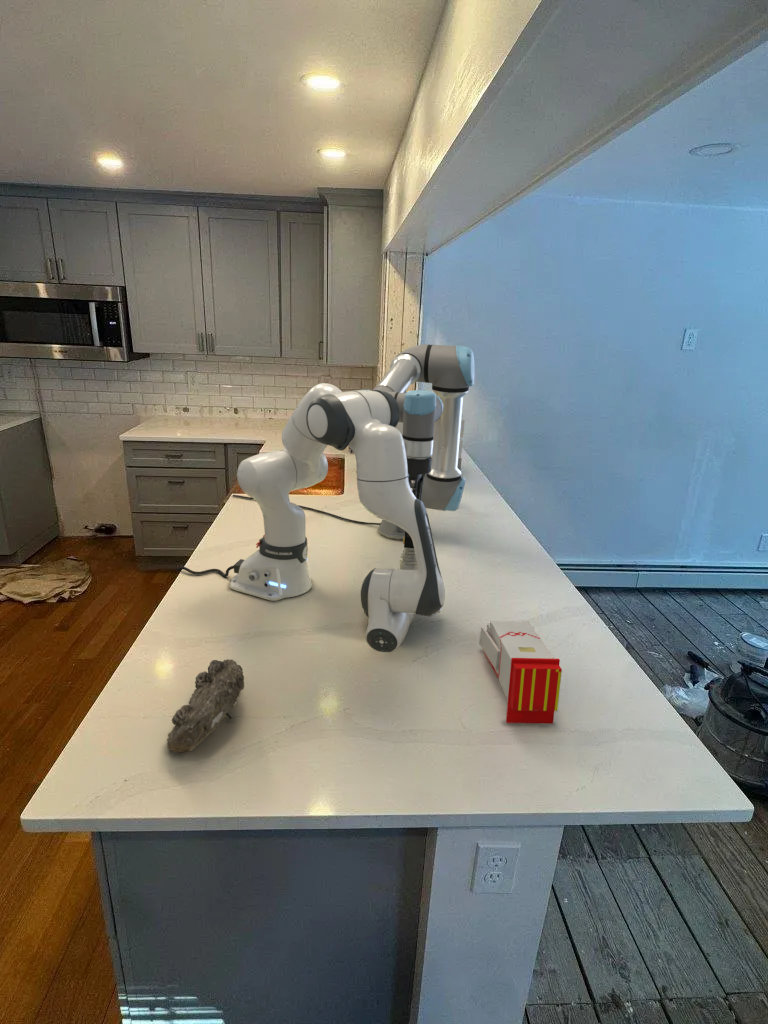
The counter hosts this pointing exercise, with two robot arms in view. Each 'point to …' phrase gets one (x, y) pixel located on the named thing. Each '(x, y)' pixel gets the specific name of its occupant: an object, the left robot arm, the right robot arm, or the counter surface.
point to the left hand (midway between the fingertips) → (408, 582)
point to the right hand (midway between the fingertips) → (410, 543)
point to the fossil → (206, 705)
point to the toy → (523, 670)
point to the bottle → (408, 560)
